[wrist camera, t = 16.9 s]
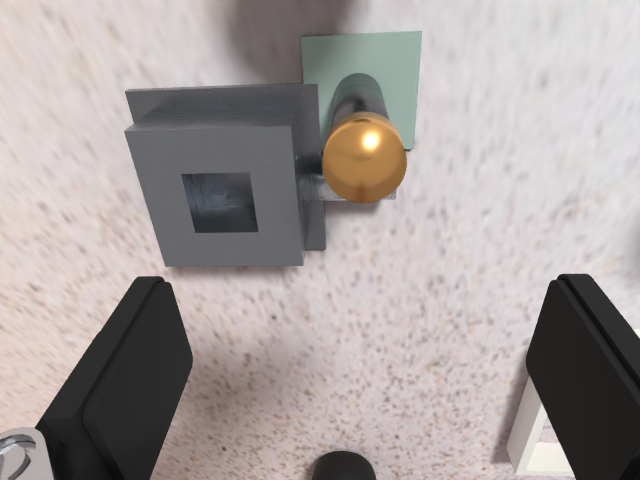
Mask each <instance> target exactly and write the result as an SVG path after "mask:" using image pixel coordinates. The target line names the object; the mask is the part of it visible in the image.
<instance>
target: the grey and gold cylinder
mask: <svg viewBox="0 0 640 480" xmlns="http://www.w3.org/2000/svg"><path fill="white" fill-rule="evenodd" d="M406 166H407V159H406V153H405V150H404V147H403V144H402V140H401V137H400V134H399V132H398V130H397V129H396V127H395V126H394V125H393V123H392V122H391V121H390V120H389V116H388V113H387V109H386V105H385V102H384V98H383V94H382V91H381V88H380V85H379V84H378V82H377V81H376V80H375V79H374V78H373V77H371V76H370V75H368V74H364V73H354V74H351V75H348V76H346V77H345V78H344V79H342V80H341V81H340V83H339V84H338V86H337V88H336V90H335V95H334V105H333V118H332V128H331V129H330V131H329V133H328V135H327V137H326V140H325V145H324V153H323V162H322V168H323V174H324V177H325V180H326V182H327V184H328V185H329V187H330V188H331V189H332V190H333V191H334V192H335V193H336V194H337V195H338V196H340V197H342V198H343V199H346V200H348V201H351V202H356V203H370V202H375V201H378V200H381V199H383V198H385V197H387V196H388V195H390V194H391V193H392V192H393V191H394V190H395V189H396V188H397V187H398V186H399V185H400V183H401V181H402V180H403V178H404V175H405V172H406Z"/></svg>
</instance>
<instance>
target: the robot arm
mask: <svg viewBox="0 0 640 480" xmlns="http://www.w3.org/2000/svg"><path fill="white" fill-rule="evenodd" d="M192 363H193V356H192V352H191V348H190V345H189V342H188V338H187V335H186V332H185V328H184V325H183V322H182V319H181V315H180V312H179V309H178V305H177V302H176V299H175V295H174V292H173V289H172V286H171V284H170V283H169V282H165V281H164V279H163V278H162V277H160V276H147V277H137V278H136V279H135V280H134V282H133V283H132V285H131V286H130V288H129V289H128V291H127V292H126V294H125V295H124V297H123V298H122V300H121V301H120V303H119V304H118V306H117V307H116V309H115V310H114V312H113V313H112V315H111V316H110V318H109V319H108V321H107V322H106V324H105V325H104V327H103V328H102V330H101V331H100V332H99V333H98V334H97V335H96V337H95V338H94V340H93V341H92V343H91V344H90V346H89V347H88V349H87V350H86V352H85V353H84V355H83V356H82V358H81V359H80V361H79V362H78V364H77V365H76V367H75V368H74V370H73V371H72V373H71V374H70V376H69V377H68V379H67V380H66V382H65V383H64V385H63V386H62V388H61V389H60V391H59V392H58V394H57V395H56V397H55V398H54V400H53V401H52V403H51V404H50V406H49V407H48V409H47V410H46V412H45V413H44V415H43V416H42V418H41V419H40V421H39V422H38V424H37V425H36V427H35V428H29V427H20V428H14V429H10V430H8V431H5V432H3V433H0V480H150V477H151V474H152V472H153V469H154V466H155V464H156V461H157V458H158V456H159V453H160V450H161V448H162V445H163V443H164V440H165V437H166V435H167V432H168V429H169V427H170V424H171V421H172V419H173V416H174V413H175V411H176V408H177V406H178V403H179V400H180V398H181V395H182V392H183V390H184V387H185V384H186V382H187V379H188V376H189V374H190V371H191V368H192ZM526 367H527V370H528V373H529V375H530V378H531V380H532V382H533V384H534V387H535V389H536V391H537V393H538V395H539V398H540V400H541V402H542V404H543V407H544V409H545V411H546V413H547V416H548V418H549V420H550V422H551V424H552V427H553V429H554V431H555V433H556V436H557V438H558V440H559V442H560V445H561V447H562V449H563V451H564V453H565V456H566V458H567V460H568V462H569V465H570V467H571V469H572V471H573V474H574V476H575V478H576V480H640V338H639V337H638V335H637V334H636V333H635V332H634V330H633V329H632V328H631V326H630V325H629V324H628V323H627V321H626V320H625V319H624V318H623V316H622V315H621V314H620V312H619V311H618V310H617V309H616V307H615V306H614V305H613V304H612V302H611V301H610V300H609V299H608V297H607V296H606V295H605V293H604V292H603V291H602V290H601V288H600V287H599V286H598V285H597V283H596V282H595V281H594V279H593V278H592V277H591V276H590V275H588V274H561V275H559V276H558V277H557V280H552V281H551V282H550V284H549V286H548V290H547V293H546V296H545V299H544V302H543V305H542V309H541V312H540V315H539V318H538V321H537V324H536V328H535V331H534V334H533V337H532V340H531V343H530V346H529V350H528V353H527V356H526Z"/></svg>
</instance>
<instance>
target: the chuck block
mask: <svg viewBox="0 0 640 480" xmlns="http://www.w3.org/2000/svg"><path fill="white" fill-rule="evenodd" d="M125 94H126V97H127V101H128V104H129V107H130V111H131V114H132V118H133V121H134V124H133V125H132V126H130V127H129V128H128V129H126V130H125V131H124V133H125V136H126V139H127V142H128V146H129V149H130V152H131V155H132V159H133V162H134V165H135V169H136V172H137V175H138V178H139V182H140V185H141V188H142V191H143V195H144V198H145V201H146V204H147V208H148V211H149V214H150V218H151V221H152V224H153V227H154V231H155V234H156V237H157V240H158V244H159V247H160V250H161V253H162V257H163V260H164V263H165V267H171V266H303V263H304V257H305V250H326V232H325V212H324V201H340V200H346V199H343V198H342V197H340V196H338V195H337V194H336V193H335V192H334V191H333V190H332V189H331V188H330V187H329V185H328V184H327V182H326V180H325V177H324V174H323V172H322V152H321V140H320V120H319V101H318V84H303V83H285V84H259V85H232V86H206V87H180V88H154V89H128V90H127V91H125ZM395 198H396V189H395V190H394V191H393V192H392V193H391V194H390V195H388V196H387V197H385V198H383V199H381V200H395Z"/></svg>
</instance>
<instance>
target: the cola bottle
mask: <svg viewBox="0 0 640 480" xmlns="http://www.w3.org/2000/svg"><path fill="white" fill-rule="evenodd" d="M312 480H376V476H375V473H374V470H373V468H372V466H371V464H370V463H369V462H368V461H367V460H366V459H365V458H364V457H362V456H360V455H358V454H355V453H351V452H336V453H332V454H329V455H327V456H325V457H323V458H322V459H321V460H320V461H319V462H318V464H317V466H316V468H315V471H314V474H313V478H312Z"/></svg>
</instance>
